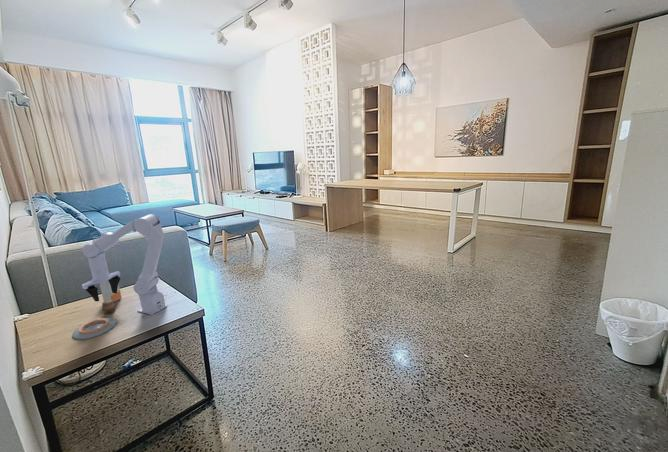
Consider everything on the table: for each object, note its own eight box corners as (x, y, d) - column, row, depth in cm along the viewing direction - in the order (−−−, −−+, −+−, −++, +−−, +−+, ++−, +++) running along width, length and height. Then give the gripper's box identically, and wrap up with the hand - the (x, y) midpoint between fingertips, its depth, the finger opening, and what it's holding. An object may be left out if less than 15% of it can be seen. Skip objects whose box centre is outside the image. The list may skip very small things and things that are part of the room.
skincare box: (111, 303, 138) (105, 280, 135) (103, 303, 139) (98, 280, 136) (122, 297, 144) (117, 275, 141) (115, 296, 145) (110, 275, 142)
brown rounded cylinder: (117, 310, 132) (115, 300, 131) (108, 314, 128) (105, 304, 127) (111, 309, 133) (109, 299, 132) (102, 313, 130) (99, 303, 129)
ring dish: (124, 322, 122) (123, 318, 122) (87, 342, 110) (86, 338, 109) (102, 316, 127) (101, 313, 127) (64, 335, 114) (63, 331, 114)
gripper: (110, 261, 134) (116, 288, 137) (74, 274, 120) (82, 303, 124) (120, 263, 131) (126, 290, 135) (85, 276, 118) (92, 305, 121)
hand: (106, 296), depth 129 cm, fingers open, 7 cm apart
